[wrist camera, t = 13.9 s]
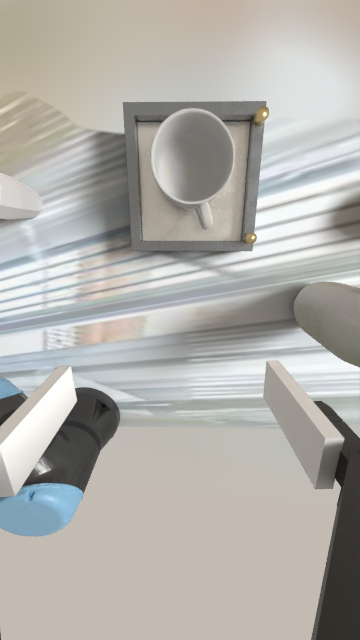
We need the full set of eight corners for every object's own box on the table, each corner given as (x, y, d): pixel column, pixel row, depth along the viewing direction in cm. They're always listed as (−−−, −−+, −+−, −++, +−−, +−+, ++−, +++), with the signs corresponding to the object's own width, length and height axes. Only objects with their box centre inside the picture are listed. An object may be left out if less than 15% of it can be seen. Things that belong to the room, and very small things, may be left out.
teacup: (152, 139, 36) (143, 112, 28) (223, 129, 36) (234, 99, 28) (164, 235, 40) (159, 234, 33) (227, 228, 40) (238, 225, 32)
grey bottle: (339, 316, 48) (528, 408, 22) (289, 331, 50) (410, 436, 23) (332, 269, 45) (542, 310, 19) (279, 286, 47) (406, 348, 20)
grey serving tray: (138, 249, 45) (129, 251, 38) (131, 121, 38) (120, 95, 32) (244, 249, 44) (255, 251, 38) (255, 120, 38) (270, 94, 31)
